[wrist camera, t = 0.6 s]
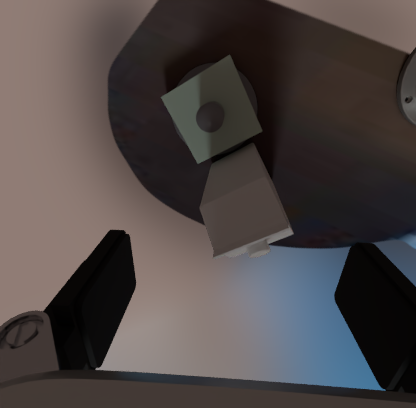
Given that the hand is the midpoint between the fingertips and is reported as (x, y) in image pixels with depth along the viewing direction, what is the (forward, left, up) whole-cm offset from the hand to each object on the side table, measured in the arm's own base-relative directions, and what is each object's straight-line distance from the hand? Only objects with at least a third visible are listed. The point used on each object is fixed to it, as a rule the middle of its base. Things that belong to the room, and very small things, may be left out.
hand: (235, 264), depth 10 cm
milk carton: (+1, +6, -28) cm, 29 cm away
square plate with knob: (+1, -4, -27) cm, 28 cm away
